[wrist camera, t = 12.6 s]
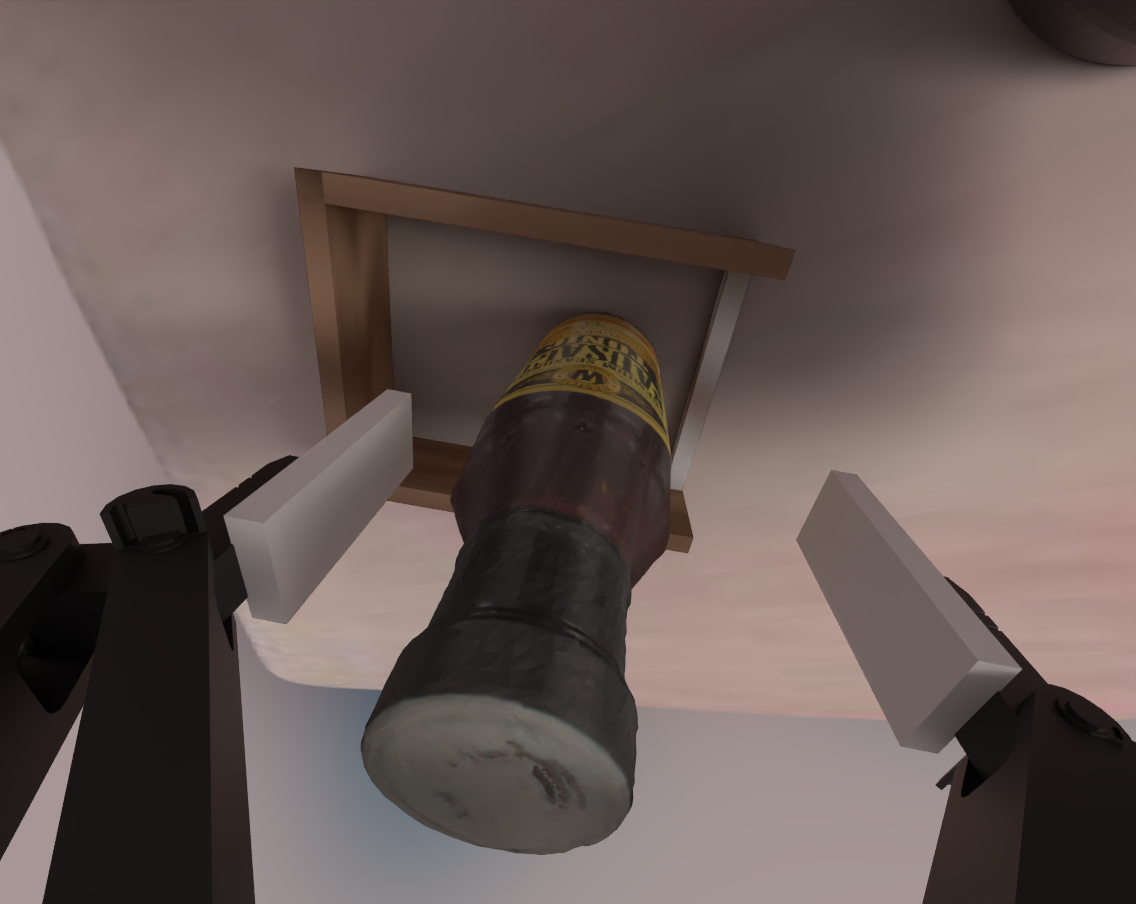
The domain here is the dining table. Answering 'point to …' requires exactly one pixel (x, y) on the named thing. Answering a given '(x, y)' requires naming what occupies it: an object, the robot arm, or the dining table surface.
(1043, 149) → the dining table surface
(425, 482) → the frame
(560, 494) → the sauce bottle
